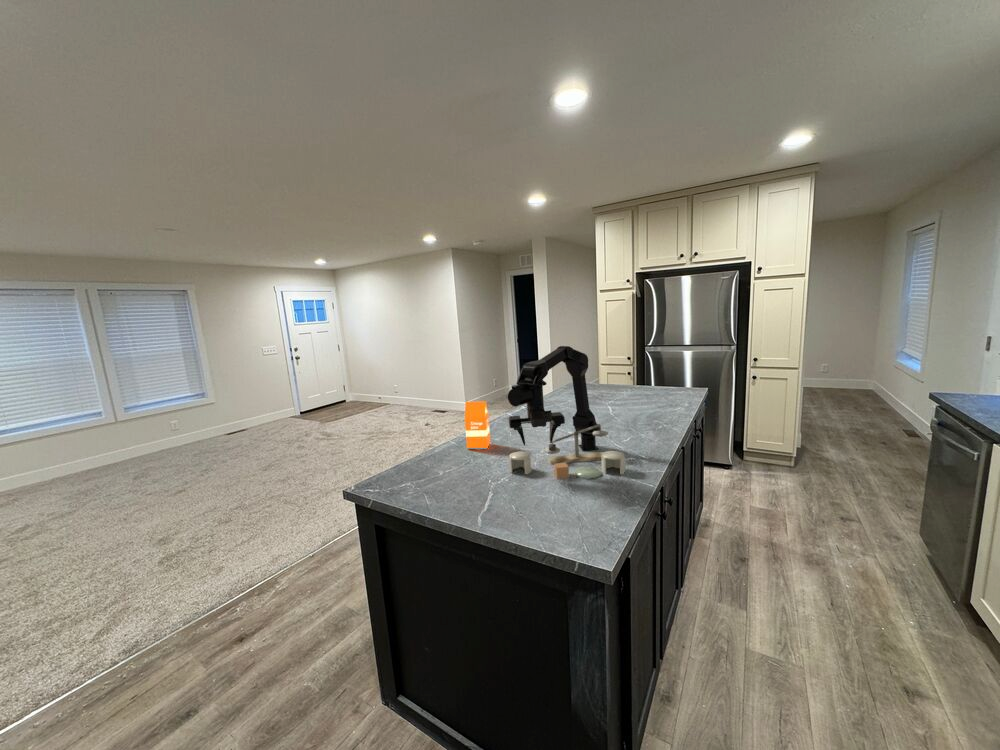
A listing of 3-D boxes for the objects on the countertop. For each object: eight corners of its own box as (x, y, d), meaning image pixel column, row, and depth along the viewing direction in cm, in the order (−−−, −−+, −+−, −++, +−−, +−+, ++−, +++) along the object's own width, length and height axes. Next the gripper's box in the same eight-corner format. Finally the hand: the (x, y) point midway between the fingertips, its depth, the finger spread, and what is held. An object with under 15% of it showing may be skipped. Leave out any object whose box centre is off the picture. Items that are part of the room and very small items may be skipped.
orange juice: (470, 444, 176) (467, 399, 173) (490, 444, 174) (487, 399, 171) (467, 450, 168) (463, 404, 165) (487, 450, 167) (484, 403, 164)
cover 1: (509, 468, 146) (508, 452, 145) (529, 466, 146) (528, 450, 145) (511, 476, 139) (510, 459, 138) (532, 474, 139) (531, 457, 138)
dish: (572, 469, 141) (572, 467, 140) (595, 467, 141) (595, 465, 141) (578, 479, 132) (578, 477, 132) (604, 477, 133) (604, 475, 133)
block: (554, 474, 138) (554, 463, 137) (565, 473, 138) (565, 462, 138) (557, 479, 134) (556, 467, 133) (568, 478, 134) (568, 466, 134)
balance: (547, 465, 146) (545, 430, 144) (544, 459, 152) (542, 426, 150) (610, 459, 148) (610, 425, 146) (605, 454, 153) (604, 421, 151)
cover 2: (599, 468, 141) (599, 451, 140) (619, 466, 141) (619, 450, 140) (606, 476, 133) (606, 459, 132) (627, 474, 134) (627, 457, 133)
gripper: (509, 408, 127) (512, 454, 130) (567, 403, 128) (569, 449, 131) (507, 400, 138) (510, 443, 141) (560, 395, 139) (562, 438, 142)
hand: (537, 443), depth 138 cm, fingers open, 9 cm apart
